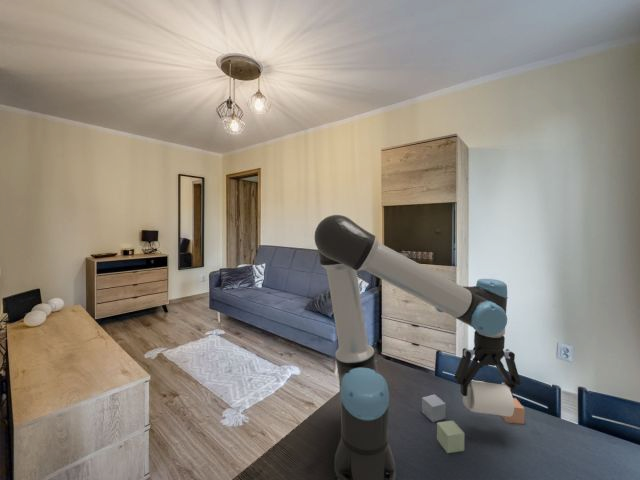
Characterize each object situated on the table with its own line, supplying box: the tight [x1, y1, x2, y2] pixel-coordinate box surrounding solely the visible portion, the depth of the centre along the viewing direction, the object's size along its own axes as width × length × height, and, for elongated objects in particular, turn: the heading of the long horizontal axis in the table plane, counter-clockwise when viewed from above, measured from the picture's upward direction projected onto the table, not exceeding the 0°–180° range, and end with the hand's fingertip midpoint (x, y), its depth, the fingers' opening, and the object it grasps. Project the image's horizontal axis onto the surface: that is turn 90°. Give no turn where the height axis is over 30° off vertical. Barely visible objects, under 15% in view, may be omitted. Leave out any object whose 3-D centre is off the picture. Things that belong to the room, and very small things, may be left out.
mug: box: [469, 380, 514, 417], centre depth 82 cm, size 12×10×8 cm
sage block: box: [436, 420, 466, 454], centre depth 78 cm, size 5×5×5 cm
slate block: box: [421, 394, 447, 423], centre depth 89 cm, size 5×5×5 cm
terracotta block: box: [501, 397, 526, 425], centre depth 88 cm, size 5×5×5 cm
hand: (485, 406), depth 82 cm, fingers closed on mug, 11 cm apart
